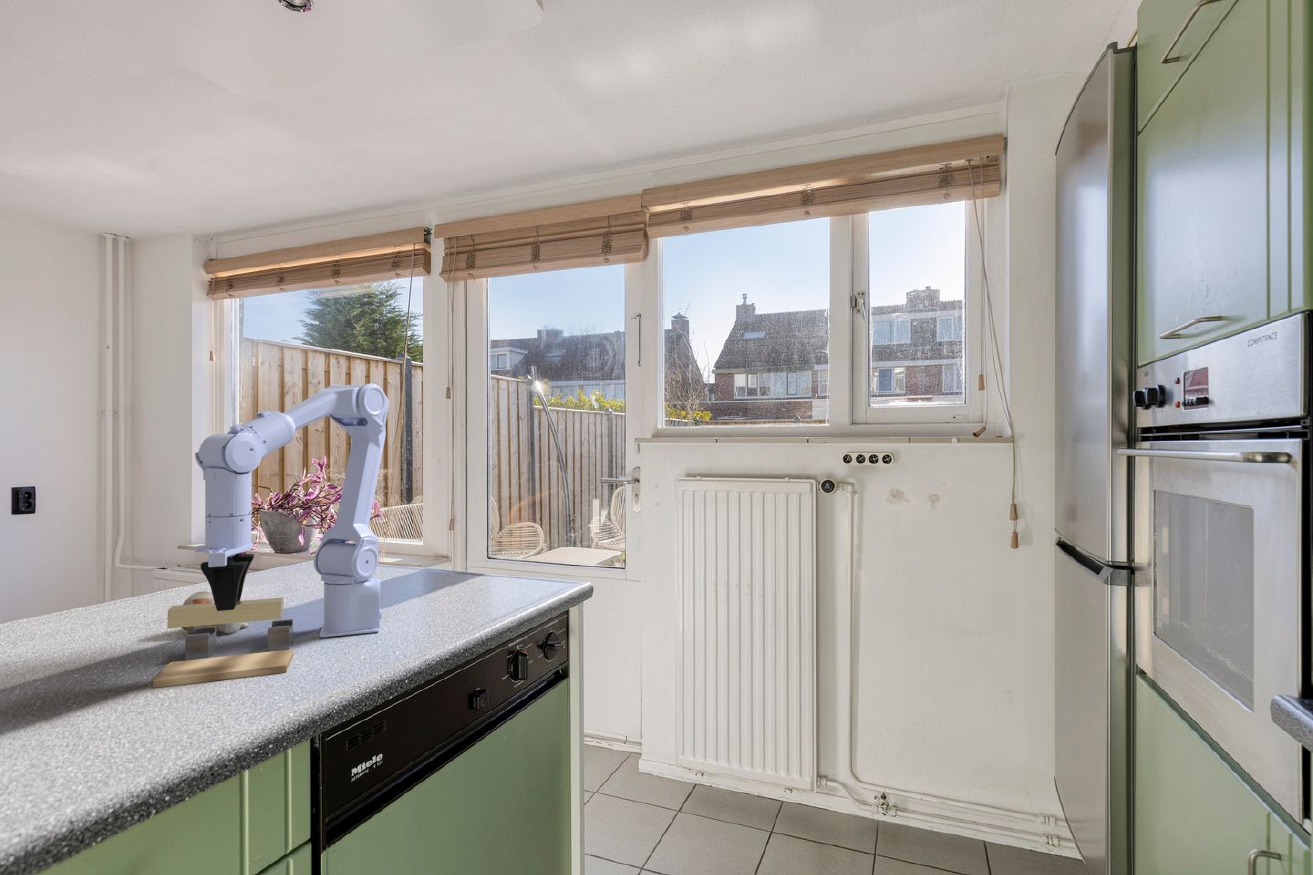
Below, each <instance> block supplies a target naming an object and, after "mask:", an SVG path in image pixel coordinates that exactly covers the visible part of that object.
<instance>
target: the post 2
mask: <svg viewBox="0 0 1313 875" xmlns="http://www.w3.org/2000/svg"><path fill="white" fill-rule="evenodd" d="M293 641H294V618H289V619H275V620H271V626H270V627H267V652H271V651H281V650H290V649H291V646H292V644H293Z"/></svg>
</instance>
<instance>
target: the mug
mask: <svg viewBox="0 0 1313 875" xmlns="http://www.w3.org/2000/svg"><path fill="white" fill-rule="evenodd" d="M204 603H214V599H213V594H212V591H211V592H210V591H198V592H195V593H193V594H191V595H190V596H188V598H186V600H184V602H183V603H182V605H191V604H204ZM210 626H216V632H219V633H225V634H227V635H231V634H234V633H237V632H238V631H239V630H240V629H241V628H244V629H247V628H249V626H250V625H249V623H248V622H238V623H226V624H215V625H203V626H192V627H180V628H181V629H183V631H186V632H189V633H192V634H193V629H194V628H199V627H210Z"/></svg>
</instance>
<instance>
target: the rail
mask: <svg viewBox="0 0 1313 875" xmlns="http://www.w3.org/2000/svg"><path fill="white" fill-rule="evenodd" d="M283 616H284V597H273V598H260V599H259V598H258V599H247V600H246V599H245V600H240V601H237V602H236V605H235V608H234V610H225V611H217V609H216V606H215V603H204V604H191V605H183V604H182V605H178V604H177V605H172V606H171V607H170V608H169V609H167V629H169V630H170V629H177V628H181V627H192V626H203V625H215V624H226V623H238V622H245V623H248V622H260V621H261V622H262V621H274V620H282V617H283Z"/></svg>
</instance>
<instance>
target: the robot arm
mask: <svg viewBox="0 0 1313 875" xmlns="http://www.w3.org/2000/svg"><path fill="white" fill-rule="evenodd" d="M389 405H390V401H389V399H388V397H387V395H386V394H385V392H384V391H383V389H382V388H381V387H380V385H378V384H375V383H366V384H346V385H344V384H343V385H342V384H331V385H329V386H327V387H325V388H321V389H319V390H318V392H316V393H315V394H314V395H312V396H310V397H308V398H306V399H305V400H303V401H302V402H299V403H297V404H295V405H294V406H292V407H291V408H289V409H288V410H285V411H283V412H280V411H277V410H260V411H258V412H256V413H255V415H256V417H254V418H252V419H251V420H249V421H246V422H245V423H242V424H233V425H232V426H230V427H229V429H230V430H228V432H227V433H215V434H212V435H209V436H207V437H206V438H205V439H203V441H202V443H201V444H200V446H199V448H198V451H197V452H195V453H194V458H195V461H196V464H197V465H198V467H199V468H200V469H201V471H202V474H203V475H202V479H203V481H204V482H205V485H204V486H205V487H204V488H205V490H204V491H205V494H204V495H205V496H204V497H205V499H204V501H205V503H204V504H205V506H204V508H205V509H204V512H205V513H204V523H205V524H204V526H205V527H204V537H205V538H204V539H205V540H204V544H202V545H197V546H195V549H194V551H195V552H196V553H204V554H206V555H207V558H208V561H203V562H201V563H200V570H201V572H202V573H203V575H204V576H205V578H206V580H207V582H208V585H209V587H210V590H211V593H212V594H213V599H214V603H215V606H216V609H217V611H225V610H234V608H235V605H236V602H237V601H241V598H242V594H243V589H244V584H245V579H246V576H247V573H248V571H249V568H250V566H251V564H252V563H253V560H254V558H255V554H254V553H245V552H247V551H248V552H249V551H251V550H253V548H254V543H253V542H252V485H253V484H252V480H253V478H252V476H253V475H252V472H253V471H255V470H256V469H257V468H258V467H259V465H260V464H261V461H262V459H263V458H264V457H266V456H268V455H270V454H272V453H273V452H275V451H277V450H279V449H280V448H282V447H285V446H286V445H288V444H289V443H291V442H292V441H293V440H294V438H295V435H296V434H295V433H296V431H298V430H300V429H302V428H304V427H307V426H309V425H310V424H313V423H315V422H317V421H320V420H322V419H323V418H326V417H329V419H331V420H332V421H333V422H334V423H335V424H336V425H337V426H338V427H340V428H341V429H342V430H343V431H344V432H346V433H347V434H348V435H349V437H350V438H351V445H350V451H349V455H348V461H347V465H346V470H345V475H344V480H343V484H342V491H341V495H340V501H339V505H338V510H337V514H336V521H335V524H333V525H332V526H331V527H330V528H328V529H327V530H325V532H324V533H323V535H322V538H321V541H320V545H319V546H318V548H317V549H316V550H315V553H314V556H313V566H314V570H315V572H316V573H317V574H318V575H320V581H322V582H323V624H322V626H321V629H320V632H319V638H330V637H338V636H340V637H341V636H349V635H360V634H367V633H368V634H370V633H379V632H380V631H381V630H380V628H381V627H380V625H381V620H382V619H383V611H382V610H383V609H382V608H381V578H372V576H373V575H374V574H375V572H376V571H377V569H378V566H379V559H380V557H379V551H378V549H379V548H378V547H379V541H380V540H379V537H378V536H377V535H375V533H374V532H373V531H372V530H371V529H370V526H369V525H370V520H371V515H372V511H373V510H372V509H373V504H374V500H375V499H374V498H375V494H376V488H377V484H378V478H379V472H380V467H381V462H382V457H383V452H384V445H385V440H386V435H387V434H386V432H387V431H386V422H387V418H388V412H389V407H390V406H389ZM350 542H351V543H350ZM352 542H354V543H352ZM243 552H244V554H241V553H243Z"/></svg>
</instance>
